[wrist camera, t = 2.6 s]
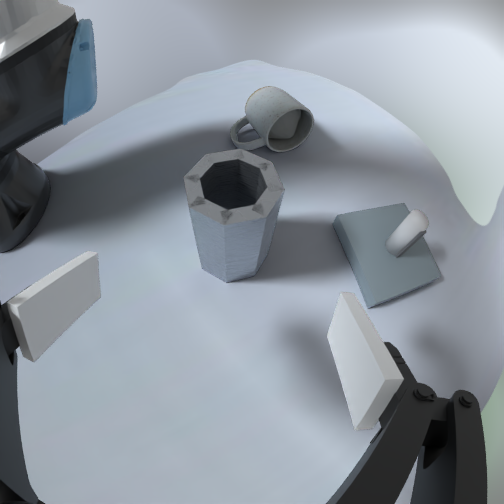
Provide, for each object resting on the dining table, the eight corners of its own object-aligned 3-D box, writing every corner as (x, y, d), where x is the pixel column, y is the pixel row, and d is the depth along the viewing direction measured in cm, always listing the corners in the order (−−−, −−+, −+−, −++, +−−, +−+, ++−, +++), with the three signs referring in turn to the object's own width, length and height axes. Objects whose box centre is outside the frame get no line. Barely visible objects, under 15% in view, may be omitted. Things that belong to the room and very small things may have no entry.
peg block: (332, 224, 33) (355, 181, 26) (397, 211, 35) (425, 174, 28) (367, 308, 28) (406, 282, 21) (432, 282, 30) (471, 254, 23)
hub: (193, 228, 31) (180, 158, 22) (254, 215, 33) (264, 145, 23) (206, 287, 28) (193, 232, 19) (273, 271, 30) (294, 211, 20)
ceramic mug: (280, 116, 42) (286, 77, 35) (308, 145, 39) (319, 105, 32) (221, 131, 40) (220, 90, 33) (245, 165, 37) (247, 120, 30)
